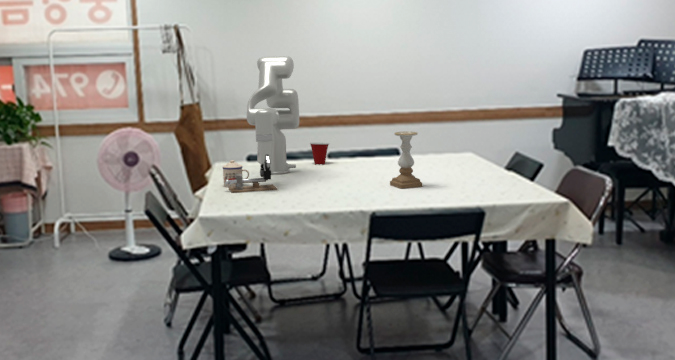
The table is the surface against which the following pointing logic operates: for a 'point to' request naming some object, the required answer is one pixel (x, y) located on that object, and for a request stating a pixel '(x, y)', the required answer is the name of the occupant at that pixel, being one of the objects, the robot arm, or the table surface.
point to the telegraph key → (255, 187)
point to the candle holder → (406, 164)
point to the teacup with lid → (232, 172)
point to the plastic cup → (319, 152)
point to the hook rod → (248, 179)
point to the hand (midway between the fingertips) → (265, 177)
